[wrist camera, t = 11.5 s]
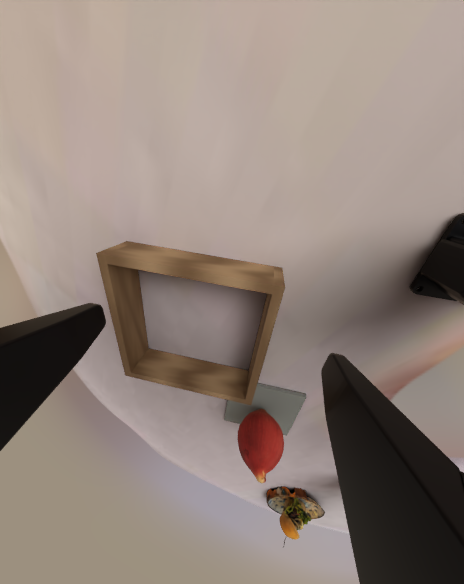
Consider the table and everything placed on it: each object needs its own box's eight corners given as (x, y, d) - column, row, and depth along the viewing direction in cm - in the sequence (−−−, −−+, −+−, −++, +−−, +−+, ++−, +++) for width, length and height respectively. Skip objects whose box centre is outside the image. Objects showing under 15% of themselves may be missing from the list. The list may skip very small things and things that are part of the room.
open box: (282, 268, 18) (285, 287, 15) (253, 376, 26) (251, 405, 22) (126, 241, 20) (96, 253, 16) (143, 351, 27) (125, 375, 24)
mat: (305, 393, 26) (306, 397, 25) (286, 432, 31) (286, 435, 30) (232, 377, 27) (231, 380, 26) (224, 416, 32) (224, 420, 31)
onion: (253, 423, 30) (248, 493, 23) (234, 401, 28) (222, 471, 21) (288, 418, 28) (294, 494, 21) (270, 393, 26) (271, 468, 19)
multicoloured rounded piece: (307, 512, 46) (313, 566, 39) (259, 496, 46) (257, 547, 39) (334, 497, 40) (346, 558, 33) (279, 478, 40) (280, 535, 33)
